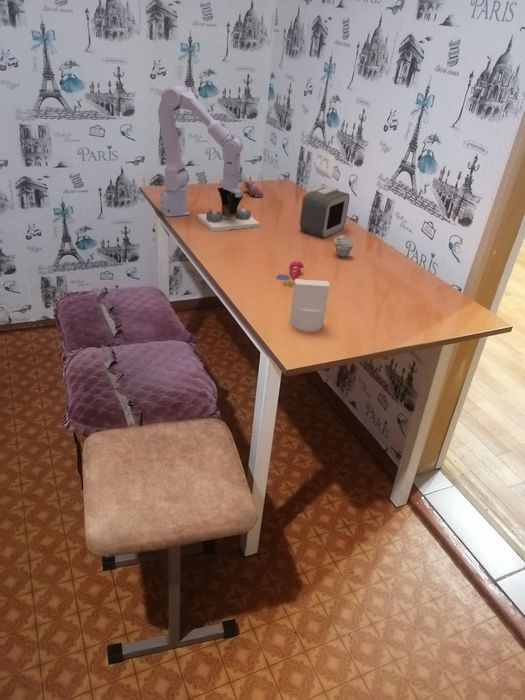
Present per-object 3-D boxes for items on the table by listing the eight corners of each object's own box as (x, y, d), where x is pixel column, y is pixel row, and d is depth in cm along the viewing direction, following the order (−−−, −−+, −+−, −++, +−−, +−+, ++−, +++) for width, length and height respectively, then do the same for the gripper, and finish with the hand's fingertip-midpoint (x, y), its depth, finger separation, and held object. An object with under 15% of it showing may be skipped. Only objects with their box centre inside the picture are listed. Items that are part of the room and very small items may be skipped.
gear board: (212, 231, 202) (212, 216, 199) (197, 218, 213) (197, 203, 210) (259, 226, 211) (260, 212, 208) (243, 214, 221) (244, 200, 218)
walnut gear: (225, 218, 207) (225, 210, 205) (218, 212, 211) (219, 204, 209) (239, 216, 209) (240, 209, 208) (232, 211, 213) (233, 203, 212)
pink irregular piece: (246, 194, 247) (240, 180, 242) (254, 189, 248) (249, 175, 243) (255, 201, 240) (250, 187, 235) (264, 196, 240) (259, 182, 236)
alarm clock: (321, 240, 205) (328, 197, 197) (295, 231, 211) (301, 189, 202) (344, 229, 217) (351, 189, 208) (319, 221, 222) (325, 181, 214)
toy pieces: (271, 271, 179) (273, 258, 177) (306, 272, 181) (307, 259, 179) (278, 288, 169) (280, 275, 167) (314, 289, 171) (316, 275, 169)
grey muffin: (335, 250, 198) (339, 231, 194) (354, 256, 195) (357, 236, 192) (328, 255, 194) (331, 236, 190) (347, 261, 191) (350, 241, 187)
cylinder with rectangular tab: (320, 315, 157) (327, 276, 150) (324, 332, 149) (331, 291, 143) (288, 313, 156) (293, 273, 150) (290, 330, 149) (296, 289, 142)
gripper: (250, 178, 198) (247, 216, 206) (232, 167, 209) (230, 203, 216) (232, 179, 195) (229, 217, 202) (215, 168, 206) (213, 204, 213)
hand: (229, 210), depth 209 cm, fingers closed on walnut gear, 6 cm apart
